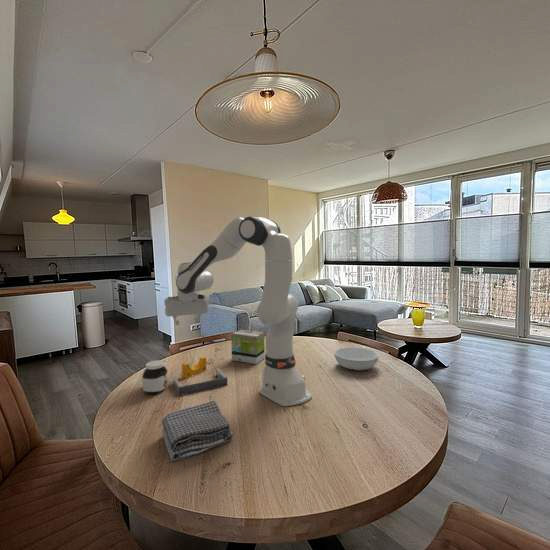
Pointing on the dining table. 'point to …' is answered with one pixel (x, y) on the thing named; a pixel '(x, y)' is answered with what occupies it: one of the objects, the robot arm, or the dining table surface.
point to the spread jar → (154, 377)
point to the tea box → (247, 346)
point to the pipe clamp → (194, 368)
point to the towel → (195, 430)
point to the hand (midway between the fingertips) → (186, 323)
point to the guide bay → (201, 384)
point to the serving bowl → (356, 358)
